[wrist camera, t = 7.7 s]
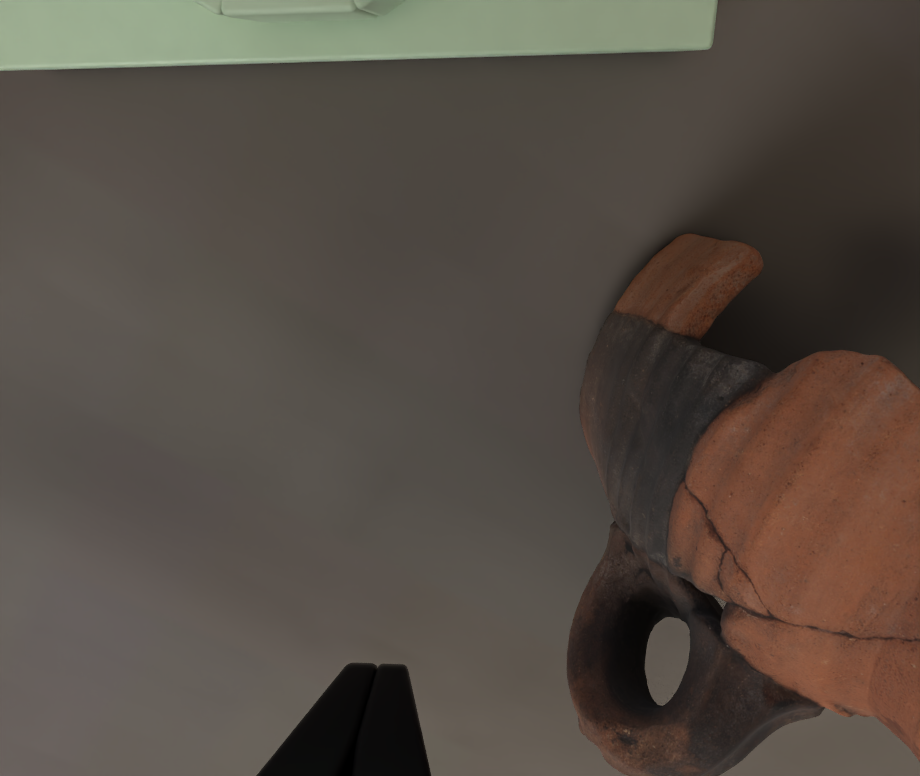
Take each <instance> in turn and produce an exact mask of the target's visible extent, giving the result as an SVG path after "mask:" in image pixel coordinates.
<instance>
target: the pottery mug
mask: <svg viewBox="0 0 920 776" xmlns="http://www.w3.org/2000/svg"><path fill="white" fill-rule="evenodd" d="M762 268H763V260H762V258H761V256H760V253H759V252H758V251H757V250H756V249H755V248H753V247H752V246H750V245H748V244H745V243H742V242H738V241H733V240H732V241H721V240H717V239H714V238H711V237H704V236H700V235H697V234H693V233H688V234H684V235H681V236H678V237H677V238H675V239H674V240H673V241H672V242H671V243H670V244H669V245H667V246H666V247H665V248H663V249H662V250H661V251H659V252H658V253H657V254H656V255H655V256H654V257H653V258H652V259H651V260H650V261H649V262H648V264H647V265H646V266H645V267H644V268H643V269H642V270H641V272H639V273H638V274H637V275H636V276H635V278H634V279H633V280H632V282H631V283H630V285H629V286H628V288H627V290H626V291H625V292H624V294H623V295H622V297H621V298H620V299H619V301H618V302H617V304H616V307H615V309H614V311H613V312H612V313H611V314H610V315H609V316H608V318H607V319H606V321H605V323H604V325H603V327H602V329H601V331H600V333H599V335H598V338H597V340H596V343H595V345H594V347H593V350H592V351H591V353H590V354H589V357H588V360H587V365H586V371H585V375H584V380H583V385H582V387H581V392H580V405H579V410H580V420H581V424H582V428H583V431H584V436H585V439H586V442H587V445H588V448H589V450H590V452H591V455H592V457H593V459H594V461H595V463H596V466H597V469H598V473H599V476H600V479H601V482H602V485H603V487H604V490H605V493H606V496H607V498H608V500H609V503H610V507H611V512H612V515H613V517H614V519H615V522H613V524H611V526H610V533H609V540H608V545H607V548H606V551H605V553H604V555H603V557H602V559H601V561H600V563H599V564H598V566H597V567H596V569H595V571H594V573H593V575H592V576H591V578H590V580H589V582H588V584H587V586H586V588H585V590H584V592H583V594H582V597H581V599H580V602H579V604H578V607H577V609H576V612H575V616H574V619H573V623H572V626H571V630H570V635H569V642H568V650H567V678H568V685H569V689H570V694H571V697H572V701H573V704H574V707H575V709H576V712H577V714H578V720H579V728H580V731H581V733H582V734H583V735H585V736H586V737H587V738H588V739H589V740H590V741H591V742H593V743H594V744H595V745H596V746H597V747H598V748H599V749H600V751H601V753H602V755H603V757H604V759H605V760H606V761H607V762H608V763H609V764H610V765H611V766H612V767H613V768H615V769H617V770H618V771H619V772H621V773H623V774H625V775H628V776H719V775H720V774H722V773H724V772H726V771H727V770H729V769H730V768H732V767H733V766H735V765H736V764H738V763H739V762H740V761H742V760H743V759H744V758H745V757H746V756H747V755H748V754H749V753H750V752H751V751H752V750H753V749H754V748H755V747H756V746H758V745H759V744H760V743H761V742H762V741H763V740H764V739H765V738H767V737H768V736H769V735H770V734H772V733H773V732H774V731H776V730H777V729H779V728H781V727H782V726H784V725H787V724H789V723H793V722H796V721H799V720H804V719H809V718H813V717H816V716H819V715H820V714H821V713H822V711H823V710H824V708H828V709H830V710H832V711H834V712H836V713H838V714H840V715H843V716H846V717H851V716H853V715H855V714H858V715H860V716H865V717H869V716H874V717H876V718H877V719H878V720H879V721H881V722H882V723H883V724H884V725H885V726H886V727H887V728H889V729H890V730H891V731H892V732H893V733H894V734H895V735H896V736H897V737H898V738H900V739H901V740H902V741H903V742H904V743H905V744H906V745H907V746H908V747H909V748H910V750H911V751H912V752H913V753H914V754H915V756H916V757H917V759H918V760H919V761H920V389H919V388H918V387H917V386H916V385H915V384H914V383H913V382H911V381H910V380H909V379H908V378H907V376H906V375H905V374H904V373H903V372H902V371H901V370H900V369H899V368H898V367H897V366H895V365H894V364H893V363H892V362H890V361H889V360H888V359H886V358H885V357H883V356H879V355H864V354H861V353H858V352H852V351H847V350H836V351H820V352H816V353H814V354H811V355H809V356H807V357H805V358H804V359H802V360H799V361H797V362H795V363H792V364H791V365H789V366H788V367H787V368H786V369H784V370H782V371H781V372H779V373H773V372H772V371H771V370H770V369H768V368H767V367H766V366H765V365H763V364H760V363H758V362H755V361H752V360H748V359H742V358H738V357H734V356H731V355H727V354H724V353H721V352H719V351H716V350H714V349H711V348H707V347H704V346H702V345H701V344H700V340H701V338H702V337H703V336H704V335H705V333H706V332H707V331H708V330H709V328H710V326H711V325H712V323H713V322H714V319H715V318H716V317H717V316H718V315H719V314H720V313H721V312H722V311H723V310H724V309H725V308H726V306H727V305H728V304H729V303H730V301H731V300H733V299H734V298H735V297H736V296H737V295H738V294H739V293H740V292H741V290H742V289H743V288H744V287H746V286H747V285H748V284H749V283H750V282H751V281H752V280H753V279H754V278H756V277H757V276H758V275H759V274H760V273H761V271H762ZM713 596H714V597H718V598H720V599H722V600H724V601H726V602H727V603H726V605H725V607H724V610H723V609H722V607H721V606H720V605H719V603H718V602H717V600H716V599H715V598H714V597H713ZM665 617H674V618H679V619H681V620H682V621H684V622H686V623H687V625H688V627H689V630H690V653H689V661H688V665H687V668H686V671H685V674H684V676H683V679H682V681H681V683H680V685H679V688H678V690H677V691H676V693H675V694H674V696H673V697H672V699H671V700H670V701H669V702H668V703H667V704H665V705H664V706H660V705H657V704H656V703H655V701H654V700H653V699H652V697H651V695H650V692H649V689H648V686H647V679H646V675H645V669H644V667H645V655H646V647H647V642H648V639H649V635H650V632H651V631H652V629H653V627H654V625H655V624H657V623H658V622H659V621H661V620H662V619H663V618H665Z"/></svg>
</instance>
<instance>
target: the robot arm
mask: <svg viewBox="0 0 920 776" xmlns="http://www.w3.org/2000/svg"><path fill="white" fill-rule="evenodd" d="M257 776H431V772H430V768H429V763H428V759H427V754H426V750H425V745H424V741H423V736H422V731H421V727H420V722H419V718H418V713H417V709H416V704H415V700H414V695H413V691H412V686H411V681H410V677H409V672H408V669H407V667H406V666H405V665H403V664H381V665H379V666H378V668H377V666H376V665H375V664H373V663H350V664H348V665H346V666H345V667H344V669H343V670H342V671H341V672H340V674H339V675H338V676H337V677H336V678H335V680H334V681H333V682H332V683H331V685H330V686H329V687H328V688H327V690H326V691H325V692H324V693H323V694H322V696H321V697H320V698H319V699H318V701H317V702H316V703H315V704H314V706H313V707H312V708H311V709H310V710H309V712H308V713H307V714H306V715H305V717H304V718H303V719H302V720H301V722H300V723H299V724H298V725H297V727H296V728H295V729H294V730H293V731H292V733H291V734H290V735H289V736H288V738H287V739H286V740H285V741H284V743H283V744H282V745H281V746H280V747H279V749H278V750H277V751H276V752H275V754H274V755H273V756H272V757H271V759H270V760H269V761H268V762H267V763H266V765H265V766H264V767H263V768H262V770H261V771H260V772H259V773H258V775H257Z"/></svg>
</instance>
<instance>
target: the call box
mask: <svg viewBox="0 0 920 776" xmlns="http://www.w3.org/2000/svg"><path fill="white" fill-rule="evenodd" d="M717 4H718V0H0V71H7V70H54V69H89V68H123V67H157V66H191V65H225V64H259V63H293V62H328V61H362V60H396V59H430V58H464V57H498V56H532V55H567V54H601V53H635V52H669V51H691V50H707V49H709V48H711V46H712V44H713V38H714V30H715V21H716V13H717Z"/></svg>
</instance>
